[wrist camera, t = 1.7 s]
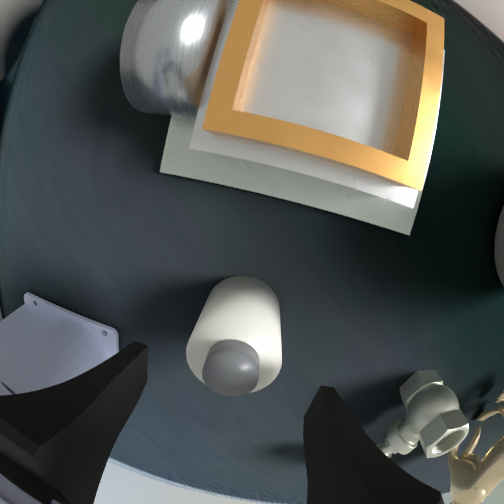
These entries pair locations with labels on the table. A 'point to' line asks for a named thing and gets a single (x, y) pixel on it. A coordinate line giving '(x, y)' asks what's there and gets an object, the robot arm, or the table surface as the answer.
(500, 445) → the horse figurine
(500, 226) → the smart speaker
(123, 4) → the table surface
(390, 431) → the valve
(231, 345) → the white capped bottle
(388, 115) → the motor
